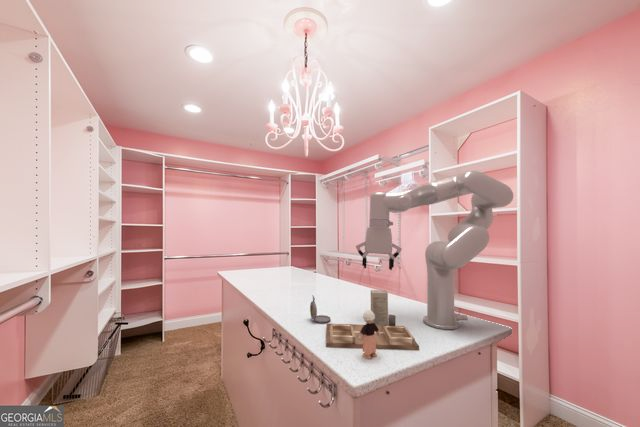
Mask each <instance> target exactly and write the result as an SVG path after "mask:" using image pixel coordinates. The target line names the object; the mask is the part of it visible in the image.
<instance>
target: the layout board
mask: <svg viewBox="0 0 640 427" xmlns="http://www.w3.org/2000/svg"><path fill="white" fill-rule="evenodd" d="M396 318H397V316H396V315H395V314H388V325H376V326H377V327H378V329H379V333H380V336H377V333H376V332H375V333H374V337H375V343H376V350H398V351H399V350H402V351H403V350H405V351H420V345H419V344H418V343H417V341H416V339H415V337H414V335H413V334H412V333H411V332H410V330H409V329H408V328H407V327H406V326H404V325H396V321H397V319H396ZM364 325H365V324H353V323H351V324H349V323H326V331H325V333H326V336H325V338H326V341H325V347H326V348H348V349H363V342H364V335H363V337H362V340H359V336H360V331H361V329H362V327H363V326H364Z"/></svg>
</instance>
